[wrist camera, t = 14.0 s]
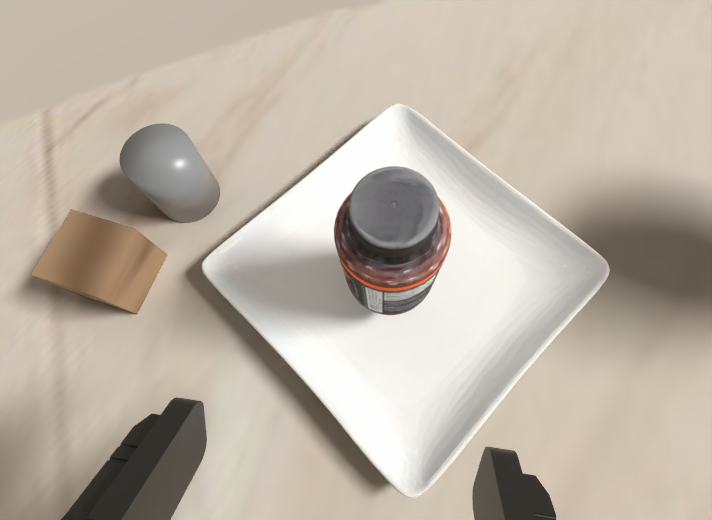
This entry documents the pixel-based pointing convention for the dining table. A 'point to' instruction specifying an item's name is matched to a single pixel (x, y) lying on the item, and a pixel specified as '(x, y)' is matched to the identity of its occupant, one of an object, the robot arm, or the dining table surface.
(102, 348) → the dining table surface
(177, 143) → the grey cylinder
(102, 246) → the walnut cube
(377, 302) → the supplement bottle
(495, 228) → the salad plate
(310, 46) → the dining table surface
